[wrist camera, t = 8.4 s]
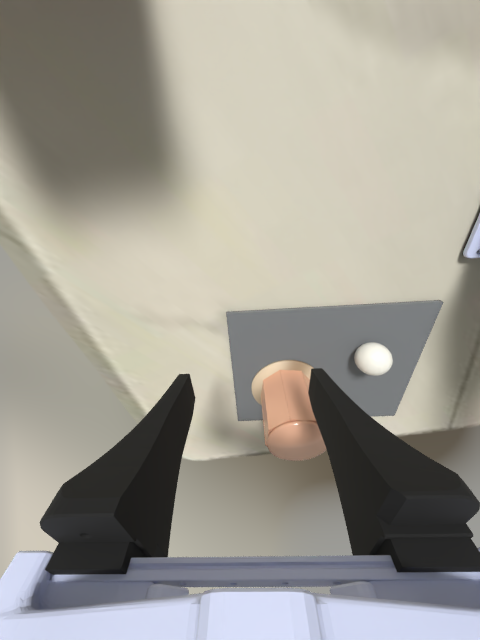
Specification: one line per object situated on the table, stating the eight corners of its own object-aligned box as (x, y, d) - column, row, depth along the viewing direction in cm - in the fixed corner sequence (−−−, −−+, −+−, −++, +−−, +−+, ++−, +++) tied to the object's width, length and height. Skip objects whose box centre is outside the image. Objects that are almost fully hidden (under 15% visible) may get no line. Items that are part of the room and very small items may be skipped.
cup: (316, 371, 24) (338, 425, 19) (305, 406, 27) (321, 462, 21) (264, 368, 24) (271, 422, 18) (259, 403, 27) (263, 459, 21)
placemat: (439, 300, 21) (443, 302, 20) (392, 412, 29) (394, 415, 28) (226, 311, 21) (226, 313, 21) (238, 418, 29) (238, 420, 29)
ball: (384, 335, 22) (405, 355, 19) (376, 360, 24) (394, 382, 21) (352, 336, 22) (367, 357, 20) (346, 361, 24) (360, 383, 21)
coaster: (324, 358, 24) (325, 359, 23) (316, 407, 28) (317, 409, 27) (250, 361, 24) (250, 363, 24) (252, 410, 28) (252, 412, 28)
